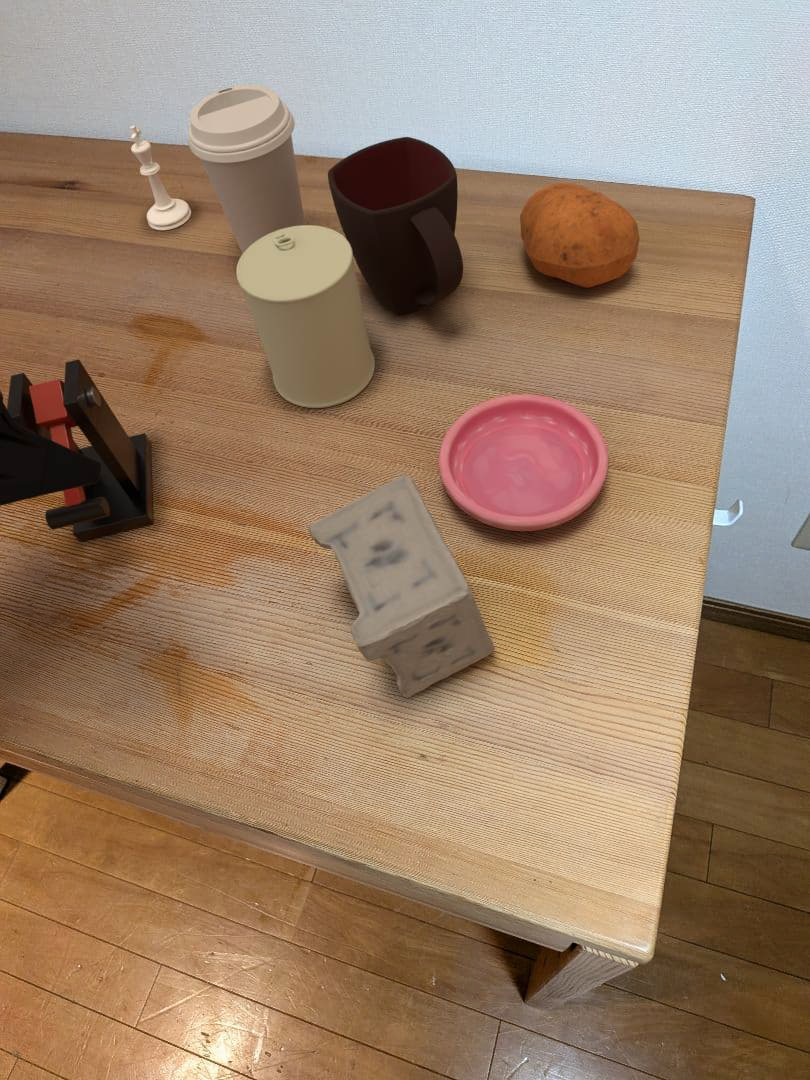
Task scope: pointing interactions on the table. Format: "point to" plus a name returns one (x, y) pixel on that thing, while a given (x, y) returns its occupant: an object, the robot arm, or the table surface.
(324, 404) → the can
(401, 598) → the incense holder
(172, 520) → the table surface
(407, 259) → the mug
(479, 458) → the saucer
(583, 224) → the potato
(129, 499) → the bracket
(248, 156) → the coffee cup
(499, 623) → the table surface
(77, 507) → the lever
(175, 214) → the chess piece
